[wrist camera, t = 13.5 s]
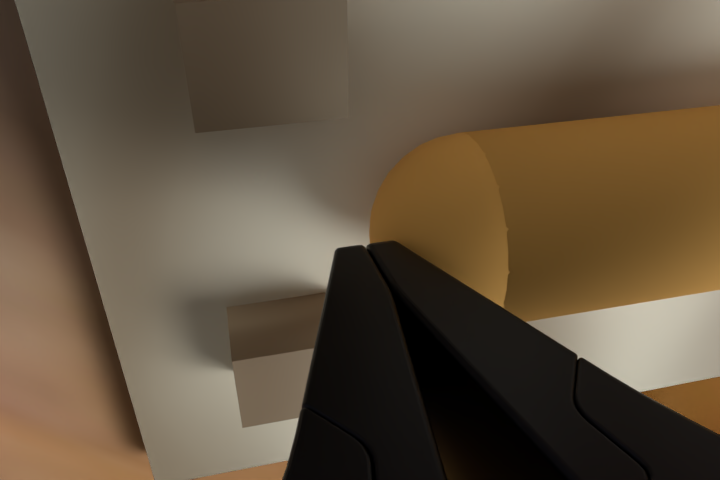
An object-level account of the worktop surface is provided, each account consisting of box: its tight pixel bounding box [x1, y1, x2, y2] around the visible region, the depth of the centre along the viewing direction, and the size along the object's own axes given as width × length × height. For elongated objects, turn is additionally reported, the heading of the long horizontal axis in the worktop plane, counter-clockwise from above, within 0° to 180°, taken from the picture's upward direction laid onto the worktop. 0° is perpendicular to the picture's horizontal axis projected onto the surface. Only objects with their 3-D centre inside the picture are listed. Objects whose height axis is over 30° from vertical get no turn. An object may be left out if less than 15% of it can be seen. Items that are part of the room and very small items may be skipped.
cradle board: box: [15, 0, 720, 480], centre depth 12 cm, size 17×13×2 cm
